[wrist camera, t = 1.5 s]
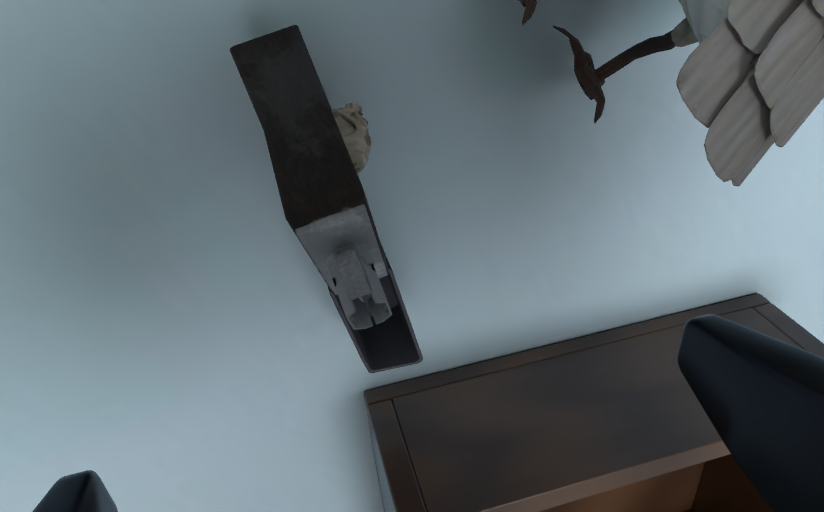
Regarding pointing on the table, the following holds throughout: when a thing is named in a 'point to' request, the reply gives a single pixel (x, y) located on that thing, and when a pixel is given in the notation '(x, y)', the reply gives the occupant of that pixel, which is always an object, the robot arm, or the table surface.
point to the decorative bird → (733, 73)
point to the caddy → (569, 427)
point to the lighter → (327, 193)
